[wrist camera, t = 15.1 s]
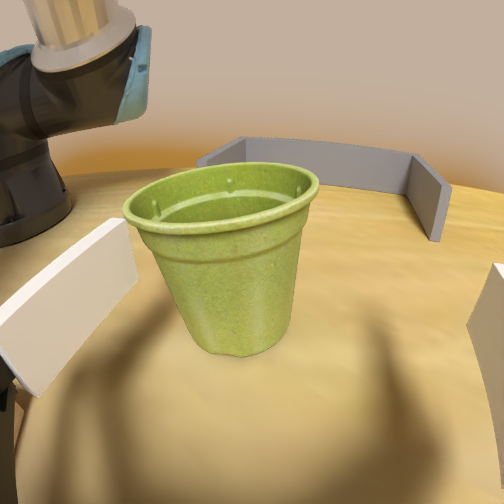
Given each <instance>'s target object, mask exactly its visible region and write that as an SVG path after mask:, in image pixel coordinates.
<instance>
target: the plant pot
mask: <svg viewBox="0 0 504 504" xmlns="http://www.w3.org/2000/svg"><path fill="white" fill-rule="evenodd" d="M318 191H319V180H318V178H317V177H316V175H314V174H313V173H312V172H310V171H308V170H306V169H303V168H301V167H297V166H293V165H288V164H281V163H268V162H240V163H229V164H222V165H214V166H207V167H202V168H196V169H192V170H188V171H185V172H180V173H177V174H174V175H170V176H168V177H166V178H162V179H160V180H157V181H155V182H152V183H150V184H149V185H147V186H145V187H143V188H141V189H139V190H138V191H136V192H135V193H134V194H132V195H131V196H130V197H129V198H128V199H127V200H126V201H125V203H124V205H123V208H122V211H123V214H124V217H125V219H126V221H127V222H128V223H129V224H131V225H133V226H135V227H137V229H138V232H139V234H140V236H141V238H142V240H143V242H144V244H145V245H146V246H147V247H148V248H149V249H150V250H151V251H152V253H153V255H154V257H155V259H156V261H157V264H158V266H159V268H160V270H161V272H162V275H163V277H164V279H165V281H166V283H167V285H168V287H169V290H170V292H171V294H172V296H173V298H174V300H175V302H176V304H177V307H178V309H179V311H180V313H181V315H182V318H183V320H184V322H185V324H186V326H187V328H188V330H189V332H190V334H191V336H192V338H193V339H194V341H195V342H196V343H197V344H198V345H199V346H200V347H201V348H202V349H204V350H206V351H207V352H209V353H212V354H217V353H221V354H229V355H234V356H238V357H245V356H250V355H254V354H257V353H260V352H262V351H264V350H266V349H268V348H270V347H272V346H273V345H274V344H276V343H277V342H278V341H279V340H280V339H281V338H282V337H283V336H284V334H285V333H286V331H287V328H288V325H289V322H290V317H291V310H292V302H293V295H294V287H295V279H296V272H297V264H298V257H299V250H300V242H301V235H302V228H303V227H304V225H305V223H306V221H307V218H308V212H309V205H310V202H311V201H312V200H313V199H314V198H315V197H316V195H317V193H318Z"/></svg>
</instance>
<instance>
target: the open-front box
mask: <svg viewBox="0 0 504 504" xmlns="http://www.w3.org/2000/svg"><path fill="white" fill-rule="evenodd" d="M196 162H197V168H202V167H207V166H214V165H222V164H229V163H240V162H268V163H281V164H288V165H293V166H297V167H301V168H303V169H306V170H308V171H310V172H312V173H313V174H314V175H316V177H317V178H318V180H319V184H324V185H333V186H342V187H350V188H358V189H366V190H373V191H380V192H387V193H394V194H400V195H406V196H407V197H408V199H409V201H410V203H411V205H412V207H413V209H414V210H415V212H416V214H417V216H418V218H419V220H420V222H421V224H422V226H423V228H424V230H425V232H426V234H427V236H428V238H429V240H430V241H436V242H440V238H441V234H442V231H443V227H444V223H445V219H446V215H447V210H448V206H449V201H450V197H451V192H452V187H451V186H450V185H449V184H448V183H447V182H446V181H445V180H444V179H443V178H442V177H441V176H440V175H439V174H438V173H437V172H436V171H435V170H434V169H433V168H432V167H431V166H430V165H429V164H428V163H427V162H426V161H425V160H423V158H421V157H420V156H419V155H417V154H411V153H406V152H400V151H393V150H387V149H381V148H373V147H366V146H359V145H350V144H342V143H332V142H322V141H310V140H298V139H283V138H263V137H239V138H237V139H235V140H233V141H231V142H229V143H227V144H226V145H224V146H222V147H220V148H218V149H216V150H214V151H212V152H211V153H209V154H207V155H205V156H203V157H202V158H200V159H198V160H197V161H196Z"/></svg>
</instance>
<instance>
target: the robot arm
mask: <svg viewBox="0 0 504 504" xmlns="http://www.w3.org/2000/svg"><path fill="white" fill-rule="evenodd" d="M23 1H24V4H25V6H26V9H27V12H28V15H29V17H30V20H31V22H32V25H33V28H34V31H35V33H36V36H37V38H38V40H37V42H36V44H35V45H34V44H27V45H21V46H16V47H14V48H12V49H10V50H7V51H6V50H5V51H2V52H0V247H1V246H6V245H10V244H13V243H17V242H19V241H22V240H25V239H27V238H30V237H32V236H34V235H36V234H38V233H40V232H42V231H44V230H46V229H48V228H50V227H51V226H53V225H54V224H56V223H57V222H59V221H60V220H61V219H63V218H64V217H65V216H66V215H67V214H68V213H69V212H70V210H71V208H72V204H71V199H70V195H69V191H68V189H67V187H66V186H65V184H64V182H63V180H62V178H61V176H60V175H59V173H58V171H57V169H56V167H55V165H54V163H53V162H52V160H51V158H50V153H49V148H48V140H47V138H50V137H53V136H58V135H62V134H67V133H71V132H76V131H81V130H86V129H92V128H97V127H102V126H109V125H116V124H118V123H120V122H125V121H129V120H134V119H137V118H139V117H140V116H142V115H143V114H144V112H145V111H146V108H147V101H148V84H149V66H150V51H151V34H152V33H151V32H152V30H151V28H150V27H149V26H142V25H140V26H138V27H136V19H135V16H134V13H133V12H132V11H131V10H129V9H128V8H126V7H123V6H120V5H118V1H117V0H23ZM138 281H139V276H138V272H137V268H136V264H135V259H134V255H133V250H132V246H131V241H130V236H129V231H128V226H127V221H126V219H121V218H110V219H108V220H107V221H106V222H104V223H103V224H101V225H100V226H99V227H97V228H96V229H95V230H93V231H92V232H90V233H89V234H88V235H86V236H85V237H84V238H82V239H81V240H80V241H78V242H77V243H76V244H74V245H73V246H72V247H70V248H69V249H68V250H67V251H65V252H64V253H63V254H61V255H60V256H59V257H58V258H56V259H55V260H54V261H53V262H51V263H50V264H49V265H48V266H46V267H45V268H44V269H43V270H42V271H40V272H39V273H38V274H37V275H36V276H34V277H33V278H32V279H31V280H30V281H29V282H27V283H26V284H25V285H24V286H23V287H22V288H20V289H19V290H18V291H17V292H16V293H15V294H14V295H13V296H11V297H10V298H9V299H8V300H7V301H6V302H5V303H4V304H3V305H2V306H0V504H18V499H17V489H16V478H15V462H14V414H15V397H16V387H15V385H14V383H13V382H12V381H13V380H14V379H15V377H16V379H17V380H18V381H19V383H20V384H21V385H22V387H23V388H24V389H25V390H26V391H28V392H29V393H30V394H32V395H33V396H35V397H36V398H38V399H39V398H40V397H41V395H42V394H43V393H44V391H45V390H46V389H47V388H48V386H49V385H50V384H51V382H52V381H53V380H54V379H55V377H56V376H57V375H58V374H59V372H60V371H61V370H62V369H63V367H64V366H65V365H66V364H67V363H68V361H69V360H70V359H71V358H72V356H73V355H74V354H75V353H76V352H77V350H78V349H79V348H80V347H81V346H82V344H83V343H84V342H85V341H86V340H87V338H88V337H89V336H90V335H91V334H92V333H93V331H94V330H95V329H96V328H97V327H98V326H99V324H100V323H101V322H102V321H103V320H104V319H105V318H106V316H107V315H108V314H109V313H110V312H111V311H112V310H113V308H114V307H115V306H116V305H117V304H118V303H119V302H120V301H121V300H122V298H123V297H124V296H125V295H126V294H127V293H128V292H129V291H130V290H131V288H132V287H133V286H134V285H135V284H136V283H137V282H138ZM466 326H467V329H468V332H469V335H470V337H471V340H472V344H473V347H474V350H475V353H476V356H477V360H478V363H479V366H480V370H481V373H482V377H483V381H484V385H485V389H486V393H487V397H488V401H489V406H490V410H491V415H492V420H493V425H494V431H495V436H496V443H497V449H498V457H499V465H500V474H501V486H502V488H504V264H499V263H493V264H492V267H491V270H490V272H489V275H488V277H487V280H486V282H485V285H484V287H483V290H482V292H481V294H480V297H479V299H478V301H477V303H476V306H475V308H474V310H473V312H472V314H471V316H470V318H469V320H468V322H467V325H466Z"/></svg>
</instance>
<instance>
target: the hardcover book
mask: <svg viewBox="0 0 504 504" xmlns="http://www.w3.org/2000/svg"><path fill="white" fill-rule="evenodd" d="M17 393H18V392H17V390H16V396H17ZM15 399H16V397H15ZM24 413H25V411H24V410H23V409H22V408H21V407H20V405H19V404H17V402H16V401H15V414H14V450H15V446H16V442H17V438H18V434H19V430H20V426H21V423H22V419H23V416H24Z"/></svg>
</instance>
